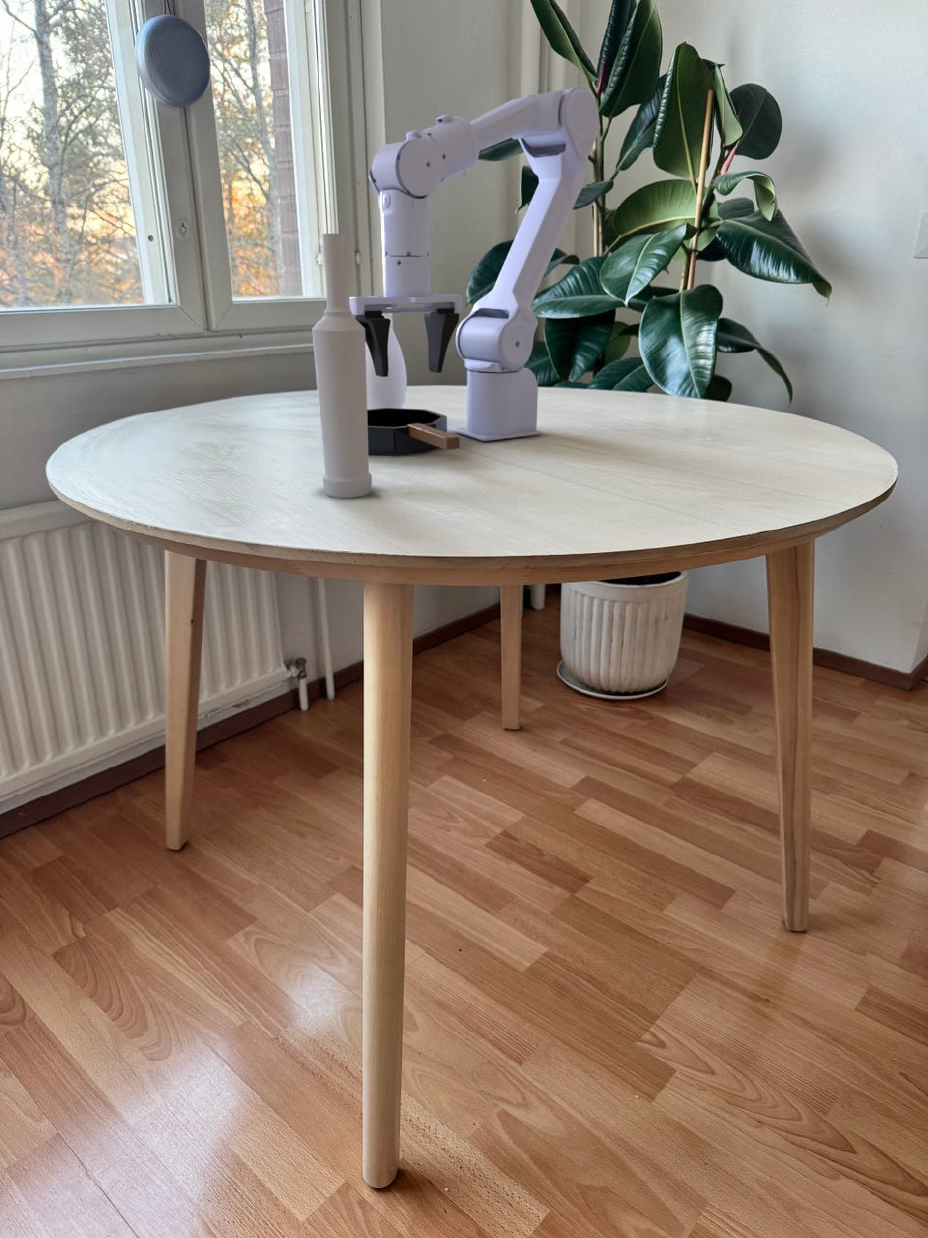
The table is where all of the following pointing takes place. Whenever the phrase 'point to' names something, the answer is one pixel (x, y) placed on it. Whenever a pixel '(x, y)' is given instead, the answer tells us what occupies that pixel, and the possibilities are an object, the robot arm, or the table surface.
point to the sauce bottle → (387, 378)
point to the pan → (407, 431)
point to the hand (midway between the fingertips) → (409, 373)
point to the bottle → (341, 383)
